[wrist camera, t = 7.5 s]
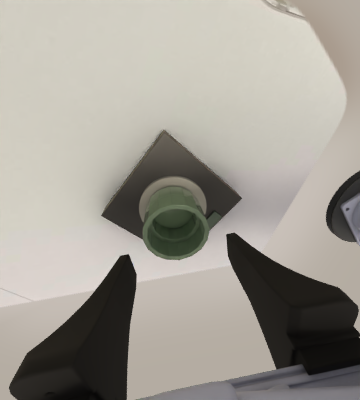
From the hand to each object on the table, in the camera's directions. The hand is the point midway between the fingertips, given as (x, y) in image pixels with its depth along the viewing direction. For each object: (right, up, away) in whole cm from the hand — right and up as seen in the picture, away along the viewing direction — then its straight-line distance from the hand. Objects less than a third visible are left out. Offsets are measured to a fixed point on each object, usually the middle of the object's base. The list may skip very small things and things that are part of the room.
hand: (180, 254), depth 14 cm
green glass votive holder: (-1, +3, +6) cm, 7 cm away
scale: (-1, +4, +9) cm, 10 cm away
